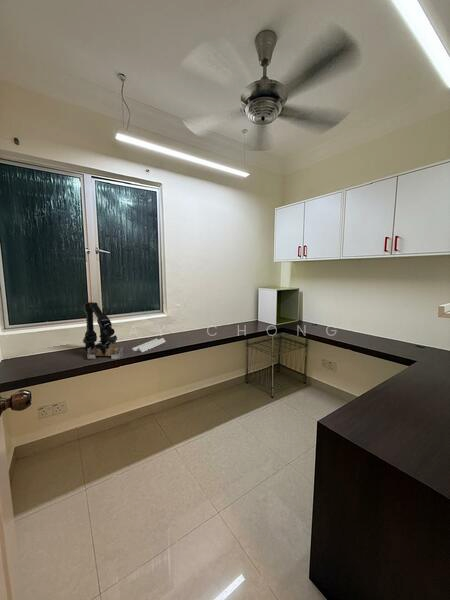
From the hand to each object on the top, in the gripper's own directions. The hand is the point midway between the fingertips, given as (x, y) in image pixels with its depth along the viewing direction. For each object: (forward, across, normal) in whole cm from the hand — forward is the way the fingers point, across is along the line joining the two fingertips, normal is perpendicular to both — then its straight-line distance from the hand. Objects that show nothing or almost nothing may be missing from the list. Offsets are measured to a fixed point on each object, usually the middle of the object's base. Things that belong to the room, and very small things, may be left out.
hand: (105, 353), depth 189 cm
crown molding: (+4, +26, -26) cm, 37 cm away
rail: (+1, 0, 0) cm, 1 cm away
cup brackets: (+3, 0, 0) cm, 3 cm away
